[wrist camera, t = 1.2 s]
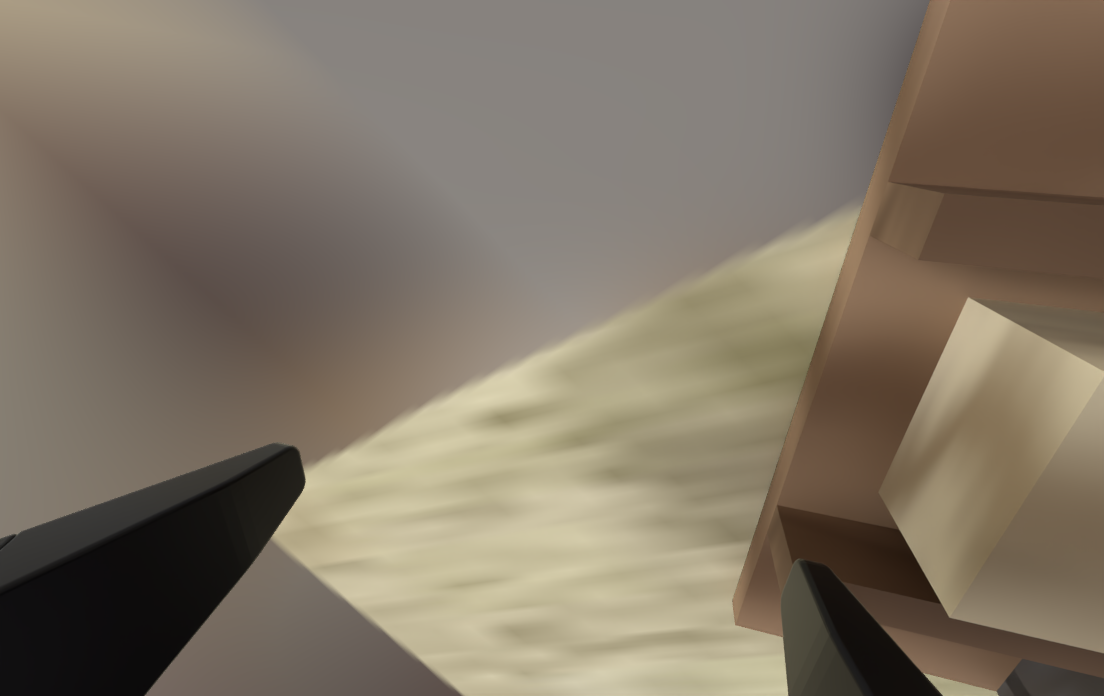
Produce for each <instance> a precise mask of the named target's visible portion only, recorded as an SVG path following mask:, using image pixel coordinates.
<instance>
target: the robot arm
mask: <svg viewBox="0 0 1104 696" xmlns="http://www.w3.org/2000/svg"><path fill="white" fill-rule="evenodd" d="M304 486H305V474H304V469H303V465H302V460H301V455H300V452H299V450H298V448H297V447H295V446H293V445H288V444H284V443H272V444H269V445H266V446H263V447H261V448H258V449H255V450H252V451H249V452H246V453H243V454H241V455H238V456H235V457H232V458H229V459H226V460H224V461H221V462H218V463H215V464H212V465H209V466H207V467H204V468H201V469H198V470H195V471H192V472H189V473H186V474H184V475H181V476H178V477H175V478H172V479H170V480H166V481H164V482H161V483H158V484H155V485H152V486H149V487H147V488H144V489H141V490H138V491H135V492H132V493H129V494H127V495H124V496H121V497H118V498H115V499H112V500H110V501H107V502H104V503H101V504H98V505H95V506H93V507H89V508H87V509H84V510H81V511H78V512H75V513H72V514H70V515H67V516H64V517H61V518H58V519H55V520H53V521H50V522H47V523H44V524H41V525H38V526H35V527H33V528H30V529H27V530H24V531H21V532H20V533H19V534H18V535H16V534H12V535H9V536H7V537H4V538H1V539H0V696H145V695H146V694H147V692H148V691H149V690H150V689H151V687H152V686H153V685H154V684H155V683H156V681H157V680H158V679H159V678H160V676H161V675H162V674H163V673H164V672H165V670H166V669H167V668H168V667H169V665H170V664H171V663H172V662H173V660H174V659H175V658H176V657H177V656H178V654H179V653H180V652H181V651H182V650H183V648H184V647H185V646H186V645H187V644H188V642H189V641H190V640H191V639H192V637H193V636H194V635H195V634H196V632H197V631H198V630H199V629H200V628H201V626H202V625H203V624H204V623H205V621H206V620H207V619H208V618H209V617H210V615H211V614H212V613H213V612H214V611H215V609H216V608H217V607H218V605H219V604H220V603H221V602H222V601H223V599H224V598H225V597H226V596H227V595H228V593H229V592H230V591H231V590H232V589H233V587H234V586H235V585H236V583H237V582H238V581H239V580H240V579H241V578H242V576H243V575H244V574H245V573H246V571H247V570H248V569H249V567H250V566H251V565H252V564H253V562H254V561H255V559H256V558H257V557H258V555H259V554H260V553H261V551H262V550H263V548H264V547H265V545H266V544H267V542H268V541H269V540H270V538H271V537H272V535H273V534H274V532H275V531H276V529H277V528H278V526H279V525H280V524H281V522H282V521H283V519H284V518H285V516H286V515H287V513H288V512H289V510H290V509H291V507H292V506H293V505H294V503H295V502H296V500H297V499H298V497H299V496H300V494H301V493H302V491H303V489H304ZM781 619H782V630H783V641H784V652H785V663H786V674H787V685H788V696H943V695H942V694H941V693H940V692H939V691H938V690H937V689H936V688H935V686H934V685H933V684H932V683H931V682H930V681H929V680H928V678H927V677H926V676H925V675H924V674H923V673H922V672H921V671H920V669H919V668H918V667H917V666H916V665H915V664H914V663H913V661H912V660H911V659H910V658H909V657H908V656H907V655H906V654H905V652H904V651H903V650H902V649H901V648H900V647H899V646H898V644H897V643H896V642H895V641H894V640H893V639H892V638H891V637H890V635H889V634H888V633H887V632H886V631H885V630H884V629H883V627H882V626H881V625H880V624H879V623H878V622H877V621H876V620H875V618H874V617H873V616H872V615H871V614H870V613H869V612H868V610H867V609H866V608H865V607H864V606H863V605H862V604H861V603H860V601H859V600H858V599H857V598H856V597H855V596H854V595H853V593H852V592H851V591H850V590H849V589H848V588H847V587H846V586H845V584H844V583H843V582H842V581H841V580H840V579H839V578H838V576H837V575H836V574H835V573H834V572H833V571H832V570H831V569H830V568H829V567H828V566H827V565H825V564H823V563H820V562H815V561H811V560H806V559H797V560H796V561H795V562H794V564H793V566H792V568H791V571H790V574H789V576H788V579H787V581H786V584H785V586H784V589H783V592H782V595H781Z"/></svg>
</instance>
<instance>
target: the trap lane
mask: <svg viewBox="0 0 1104 696" xmlns="http://www.w3.org/2000/svg"><path fill="white" fill-rule="evenodd" d="M968 297H971V298H980V299H989V300H997V301H1006V302H1015V303H1024V304H1033V305H1042V306H1051V307H1059V308H1068V309H1077V310H1086V311H1095V312H1104V0H930V2H929V5H928V8H927V11H926V14H925V17H924V21H923V23H922V27H921V30H920V32H919V36H918V39H917V42H916V45H915V48H914V51H913V54H912V57H911V60H910V63H909V66H908V69H907V72H906V75H905V78H904V81H903V84H902V87H901V90H900V93H899V96H898V99H897V102H896V106H895V108H894V112H893V115H892V118H891V121H890V124H889V127H888V130H887V133H886V136H885V139H884V142H883V145H882V148H881V151H880V154H879V157H878V160H877V163H876V166H875V169H874V172H873V175H872V178H871V181H870V184H869V187H868V190H867V193H866V197H865V200H864V203H863V206H862V209H861V212H860V215H859V218H858V221H857V224H856V227H855V230H854V233H853V236H852V239H851V242H850V245H849V248H848V251H847V254H846V257H845V260H844V263H843V266H842V269H841V272H840V276H839V279H838V282H837V285H836V288H835V291H834V294H833V297H832V300H831V303H830V306H829V309H828V312H827V315H826V318H825V321H824V324H823V327H822V330H821V333H820V336H819V339H818V342H817V345H816V348H815V351H814V354H813V358H812V361H811V364H810V367H809V370H808V373H807V376H806V379H805V382H804V385H803V388H802V391H801V394H800V397H799V400H798V403H797V406H796V409H795V412H794V415H793V418H792V421H791V424H790V427H789V430H788V433H787V437H786V440H785V443H784V446H783V449H782V452H781V455H780V458H779V461H778V464H777V467H776V470H775V473H774V476H773V479H772V482H771V485H770V488H769V491H768V494H767V497H766V500H765V503H764V506H763V509H762V512H761V515H760V519H759V522H758V525H757V528H756V531H755V534H754V537H753V540H752V543H751V546H750V549H749V552H748V555H747V558H746V561H745V564H744V567H743V570H742V573H741V576H740V579H739V582H738V585H737V588H736V591H735V594H734V598H733V601H732V602H733V610H734V619H735V625H737V626H741V627H745V628H749V629H753V630H757V631H761V632H765V633H769V634H773V635H777V636H781V637H783V630H782V619H781V595H782V592H783V589H784V586H785V584H786V581H787V579H788V576H789V574H790V571H791V568H792V566H793V564H794V562H795V561H796V560H797V559H806V560H811V561H815V562H820V563H823V564H825V565H827V566H828V567H829V568H830V569H831V570H832V571H833V572H834V573H835V574H836V575H837V576H838V578H839V579H840V580H841V581H842V582H843V583H844V584H845V586H846V587H847V588H848V589H849V590H850V591H851V592H852V593H853V595H854V596H855V597H856V598H857V599H858V600H859V601H860V603H861V604H862V605H863V606H864V607H865V608H866V609H867V610H868V612H869V613H870V614H871V615H872V616H873V617H874V618H875V620H876V621H877V622H878V623H879V624H880V625H881V626H882V627H883V629H884V630H885V631H886V632H887V633H888V634H889V635H890V637H891V638H892V639H893V640H894V641H895V642H896V643H897V644H898V646H899V647H900V648H901V649H902V650H903V651H904V652H905V654H906V655H907V656H908V657H909V658H910V659H911V660H912V661H913V663H914V664H915V665H916V666H917V667H918V668H919V669H920V671H921V672H922V673H926V674H930V675H934V676H938V677H942V678H946V679H950V680H954V681H958V682H962V683H966V684H970V685H973V686H977V687H981V688H985V689H989V690H993V691H997V693H998V695H999V696H1104V653H1100V652H1096V651H1092V650H1087V649H1083V648H1079V647H1074V646H1070V645H1066V644H1061V643H1057V642H1053V641H1048V640H1044V639H1040V638H1035V637H1031V636H1027V635H1022V634H1018V633H1014V632H1009V631H1005V630H1001V629H996V628H992V627H988V626H983V625H979V624H975V623H970V622H966V621H962V620H958V619H953V618H949V616H948V614H947V612H946V611H945V609H944V607H943V605H942V603H941V602H940V600H939V598H938V596H937V595H936V593H935V591H934V589H933V588H932V586H931V584H930V582H929V581H928V579H927V577H926V575H925V574H924V572H923V570H922V568H921V567H920V565H919V563H918V561H917V559H916V558H915V556H914V554H913V552H912V551H911V549H910V547H909V545H908V544H907V542H906V540H905V538H904V537H903V535H902V533H901V531H900V530H899V528H898V526H897V524H896V522H895V521H894V519H893V517H892V515H891V514H890V512H889V510H888V508H887V507H886V505H885V503H884V501H883V500H882V498H881V496H880V494H879V493H878V492H879V490H880V488H881V485H882V483H883V481H884V479H885V477H886V474H887V472H888V470H889V468H890V466H891V464H892V461H893V459H894V457H895V455H896V453H897V451H898V448H899V446H900V444H901V442H902V440H903V438H904V435H905V433H906V431H907V429H908V427H909V425H910V422H911V420H912V418H913V416H914V414H915V411H916V409H917V407H918V405H919V403H920V401H921V398H922V396H923V394H924V392H925V390H926V388H927V385H928V383H929V381H930V379H931V377H932V375H933V372H934V370H935V368H936V366H937V364H938V362H939V359H940V357H941V355H942V353H943V351H944V348H945V346H946V344H947V342H948V340H949V338H950V335H951V333H952V331H953V329H954V327H955V325H956V322H957V320H958V318H959V316H960V314H961V312H962V309H963V307H964V305H965V303H966V301H967V299H968Z"/></svg>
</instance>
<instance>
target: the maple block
mask: <svg viewBox="0 0 1104 696" xmlns="http://www.w3.org/2000/svg"><path fill="white" fill-rule="evenodd" d="M878 493H879V494H880V496H881V498H882V500H883V501H884V503H885V505H886V507H887V508H888V510H889V512H890V514H891V515H892V517H893V519H894V521H895V522H896V524H897V526H898V528H899V530H900V531H901V533H902V535H903V537H904V538H905V540H906V542H907V544H908V545H909V547H910V549H911V551H912V552H913V554H914V556H915V558H916V559H917V561H918V563H919V565H920V567H921V568H922V570H923V572H924V574H925V575H926V577H927V579H928V581H929V582H930V584H931V586H932V588H933V589H934V591H935V593H936V595H937V596H938V598H939V600H940V602H941V603H942V605H943V607H944V609H945V611H946V612H947V614H948V616H949V618H953V619H958V620H962V621H966V622H970V623H975V624H979V625H983V626H988V627H992V628H996V629H1001V630H1005V631H1009V632H1014V633H1018V634H1022V635H1027V636H1031V637H1035V638H1040V639H1044V640H1048V641H1053V642H1057V643H1061V644H1066V645H1070V646H1074V647H1079V648H1083V649H1087V650H1092V651H1096V652H1100V653H1104V312H1095V311H1086V310H1077V309H1068V308H1059V307H1051V306H1042V305H1033V304H1024V303H1015V302H1006V301H997V300H989V299H980V298H971V297H968V299H967V301H966V303H965V305H964V307H963V309H962V312H961V314H960V316H959V318H958V320H957V322H956V325H955V327H954V329H953V331H952V333H951V335H950V338H949V340H948V342H947V344H946V346H945V348H944V351H943V353H942V355H941V357H940V359H939V362H938V364H937V366H936V368H935V370H934V372H933V375H932V377H931V379H930V381H929V383H928V385H927V388H926V390H925V392H924V394H923V396H922V398H921V401H920V403H919V405H918V407H917V409H916V411H915V414H914V416H913V418H912V420H911V422H910V425H909V427H908V429H907V431H906V433H905V435H904V438H903V440H902V442H901V444H900V446H899V448H898V451H897V453H896V455H895V457H894V459H893V461H892V464H891V466H890V468H889V470H888V472H887V474H886V477H885V479H884V481H883V483H882V485H881V488H880V490H879V492H878Z"/></svg>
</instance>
